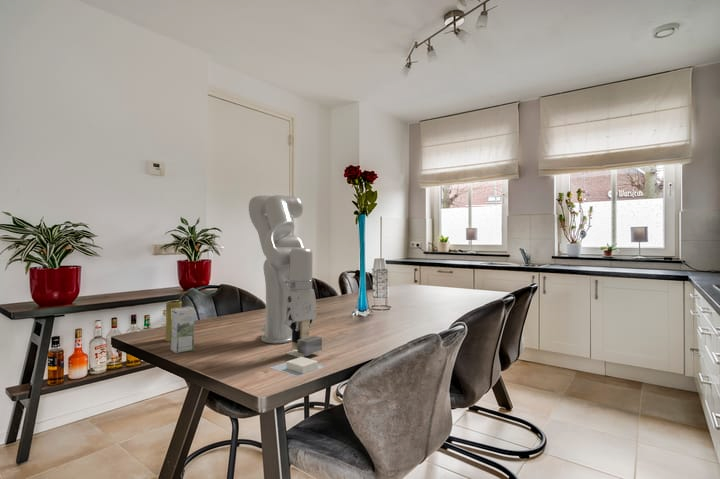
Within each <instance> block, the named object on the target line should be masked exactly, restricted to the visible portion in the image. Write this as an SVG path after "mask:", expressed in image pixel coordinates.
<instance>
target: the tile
mask: <svg viewBox="0 0 720 479" xmlns="http://www.w3.org/2000/svg"><path fill="white" fill-rule="evenodd" d="M285 363H286V368H287V369H290V370H293V371H296V372H299V373H302V374H304V373H307V372H309V371H312V370H315V369H317V368H318V365H319V361H318V360H315V359H311V358H308V357H295V358H294V359H290V360H287V361H286V362H285ZM315 371H316V370H315ZM307 374H308V373H307Z"/></svg>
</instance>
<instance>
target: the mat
mask: <svg viewBox="0 0 720 479" xmlns="http://www.w3.org/2000/svg"><path fill="white" fill-rule="evenodd" d="M323 368H325V366H323V365H320V364H318V368H317V369H315V370H312V371H309V372H307V373H304V374H302V373H299V372H296V371H293V370H290V369H287V368H286V362H283V363H281V364H280V363H279V364H277V365H274V366H271V367H269V369H272V370H273V371H274V370H275V371H278V372H280V373H284V374H288V375H290V376H293V377H295V378H299V377H301V376H304V375H307V374H310V373H313V372H315V371H317V370H318V371H319V370H320V369H323Z"/></svg>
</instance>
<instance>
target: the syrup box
mask: <svg viewBox="0 0 720 479" xmlns="http://www.w3.org/2000/svg"><path fill="white" fill-rule="evenodd" d="M194 338H195V308H193V307H192V306H182V307H179V308H171V342H170V349H169V350H170V351H171V352H173V353H175V354H181V353H186V352H191V351H194V343H195V340H194Z"/></svg>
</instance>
